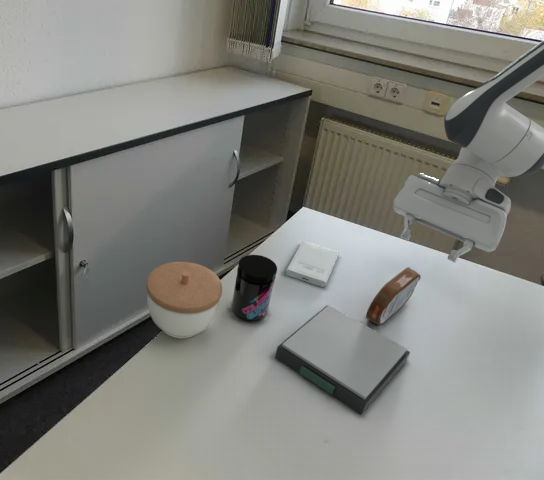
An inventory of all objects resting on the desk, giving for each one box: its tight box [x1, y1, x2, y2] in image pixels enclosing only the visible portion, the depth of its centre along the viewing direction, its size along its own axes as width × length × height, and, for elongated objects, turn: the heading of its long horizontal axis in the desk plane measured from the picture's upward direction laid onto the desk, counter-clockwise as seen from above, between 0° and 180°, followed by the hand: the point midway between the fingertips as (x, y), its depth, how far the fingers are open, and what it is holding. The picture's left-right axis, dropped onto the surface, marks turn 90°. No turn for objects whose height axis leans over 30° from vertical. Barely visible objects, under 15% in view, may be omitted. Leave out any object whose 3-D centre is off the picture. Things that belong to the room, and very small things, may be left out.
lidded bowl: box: [146, 261, 223, 340], centre depth 92 cm, size 13×13×11 cm
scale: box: [274, 304, 411, 415], centre depth 90 cm, size 16×16×3 cm
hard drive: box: [285, 240, 340, 288], centre depth 113 cm, size 2×8×12 cm
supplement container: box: [230, 254, 278, 323], centre depth 96 cm, size 7×7×10 cm
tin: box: [365, 266, 421, 326], centre depth 100 cm, size 15×3×8 cm, turn 134°
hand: (426, 249), depth 104 cm, fingers open, 8 cm apart
